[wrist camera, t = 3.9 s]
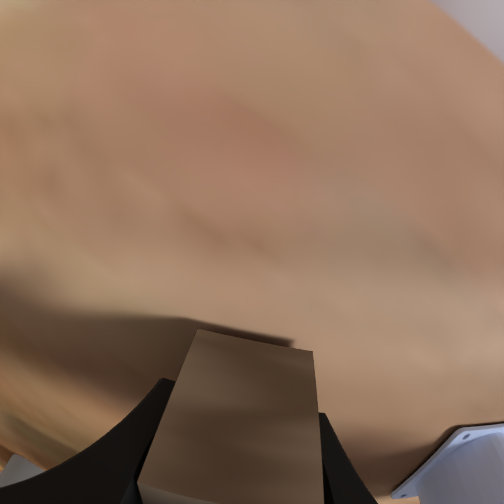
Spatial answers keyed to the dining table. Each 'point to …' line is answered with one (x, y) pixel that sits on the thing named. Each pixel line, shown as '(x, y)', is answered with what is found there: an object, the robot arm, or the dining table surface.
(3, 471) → the lumpy-topped squat cylinder
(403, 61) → the dining table surface
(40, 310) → the dining table surface
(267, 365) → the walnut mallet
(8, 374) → the dining table surface
